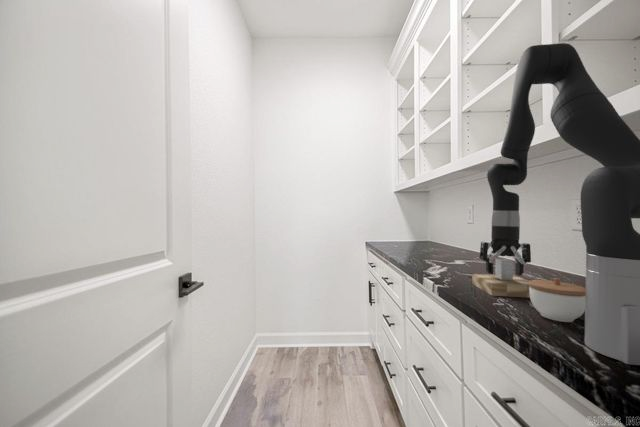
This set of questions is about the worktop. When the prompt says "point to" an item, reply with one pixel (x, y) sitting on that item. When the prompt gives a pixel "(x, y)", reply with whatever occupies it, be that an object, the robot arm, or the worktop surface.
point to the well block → (501, 285)
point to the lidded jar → (557, 299)
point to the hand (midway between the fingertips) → (504, 274)
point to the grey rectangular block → (504, 270)
